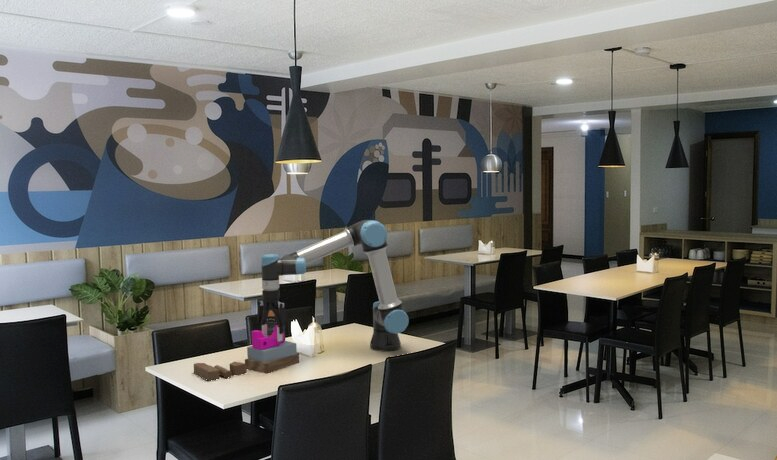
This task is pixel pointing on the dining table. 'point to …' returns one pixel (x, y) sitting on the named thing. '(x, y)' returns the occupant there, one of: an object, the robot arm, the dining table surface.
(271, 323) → the whiskey bottle
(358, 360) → the dining table surface
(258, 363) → the tower base slab
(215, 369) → the wooden block set
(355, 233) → the robot arm
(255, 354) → the tower cap slab
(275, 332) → the toy block
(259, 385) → the dining table surface
